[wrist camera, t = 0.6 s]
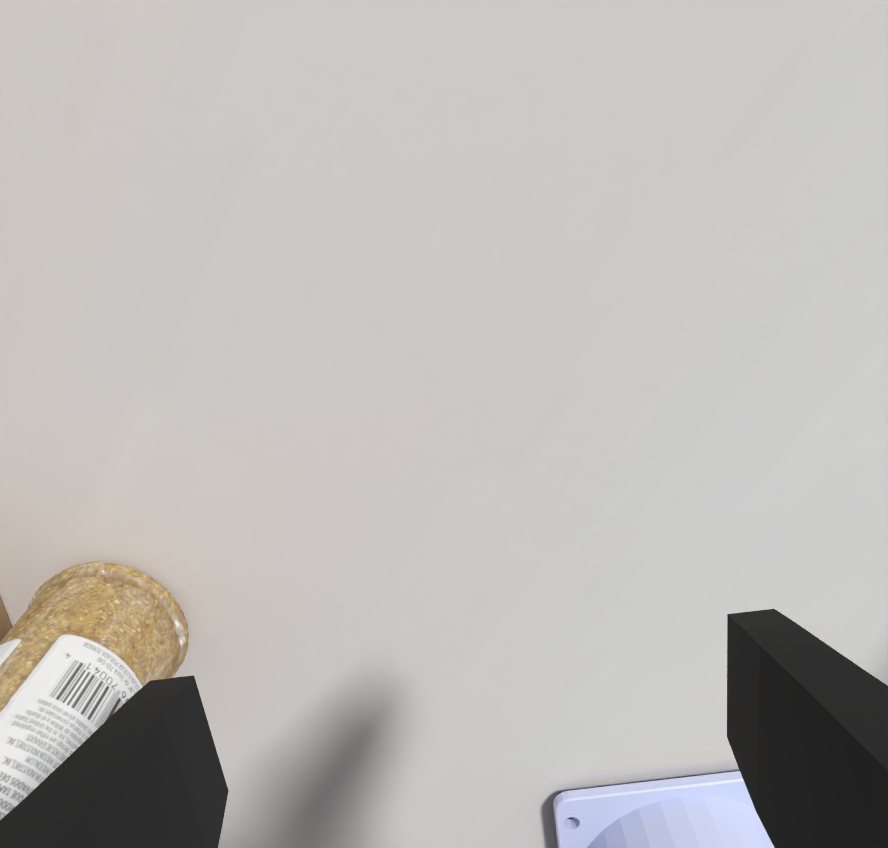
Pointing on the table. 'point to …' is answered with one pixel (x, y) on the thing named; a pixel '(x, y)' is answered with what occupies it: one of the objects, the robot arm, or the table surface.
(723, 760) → the table surface
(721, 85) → the table surface
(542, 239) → the table surface
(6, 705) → the sprinkles bottle
